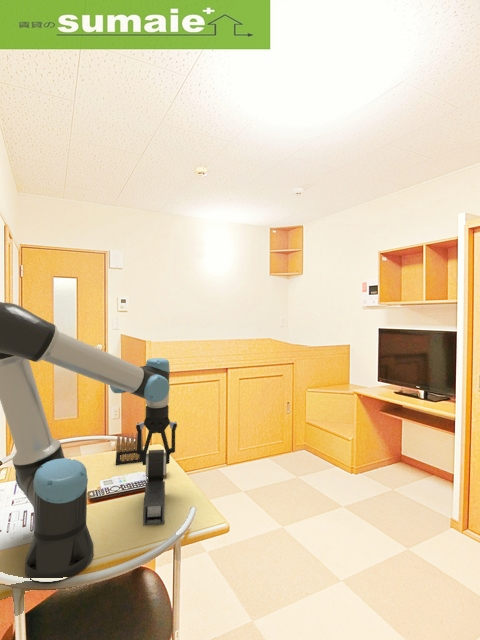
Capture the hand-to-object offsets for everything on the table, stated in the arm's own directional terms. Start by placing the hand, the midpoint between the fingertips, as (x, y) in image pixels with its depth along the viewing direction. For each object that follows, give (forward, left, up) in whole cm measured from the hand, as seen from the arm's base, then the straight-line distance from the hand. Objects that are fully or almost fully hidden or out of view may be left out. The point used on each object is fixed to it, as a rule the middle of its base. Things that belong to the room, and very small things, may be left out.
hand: (155, 473), depth 124 cm
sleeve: (-10, 0, -7) cm, 13 cm away
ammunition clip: (+28, +11, -8) cm, 31 cm away
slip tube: (-4, 0, -6) cm, 8 cm away
